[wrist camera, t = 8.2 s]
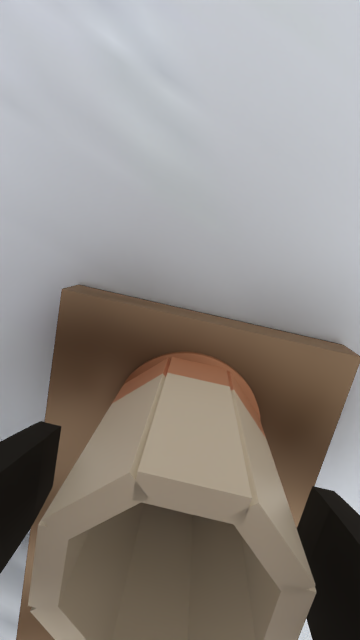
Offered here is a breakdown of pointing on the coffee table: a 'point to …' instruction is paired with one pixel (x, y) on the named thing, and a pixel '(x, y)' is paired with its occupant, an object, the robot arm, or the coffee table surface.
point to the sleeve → (173, 522)
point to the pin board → (198, 346)
